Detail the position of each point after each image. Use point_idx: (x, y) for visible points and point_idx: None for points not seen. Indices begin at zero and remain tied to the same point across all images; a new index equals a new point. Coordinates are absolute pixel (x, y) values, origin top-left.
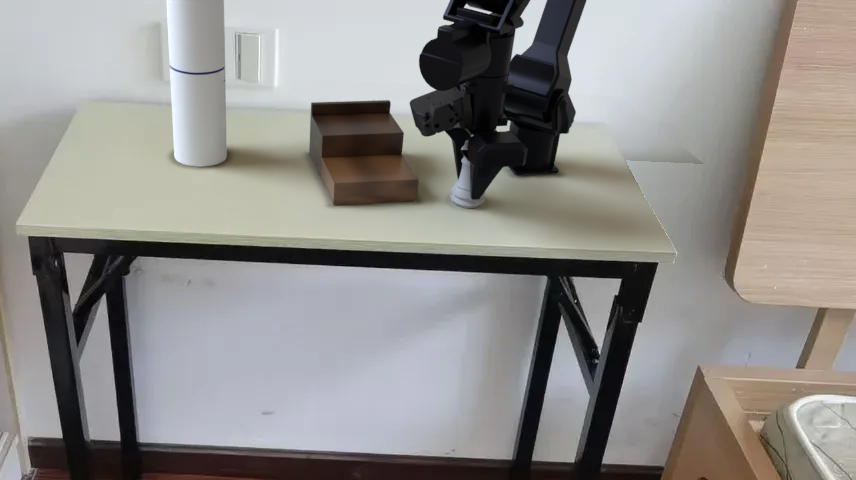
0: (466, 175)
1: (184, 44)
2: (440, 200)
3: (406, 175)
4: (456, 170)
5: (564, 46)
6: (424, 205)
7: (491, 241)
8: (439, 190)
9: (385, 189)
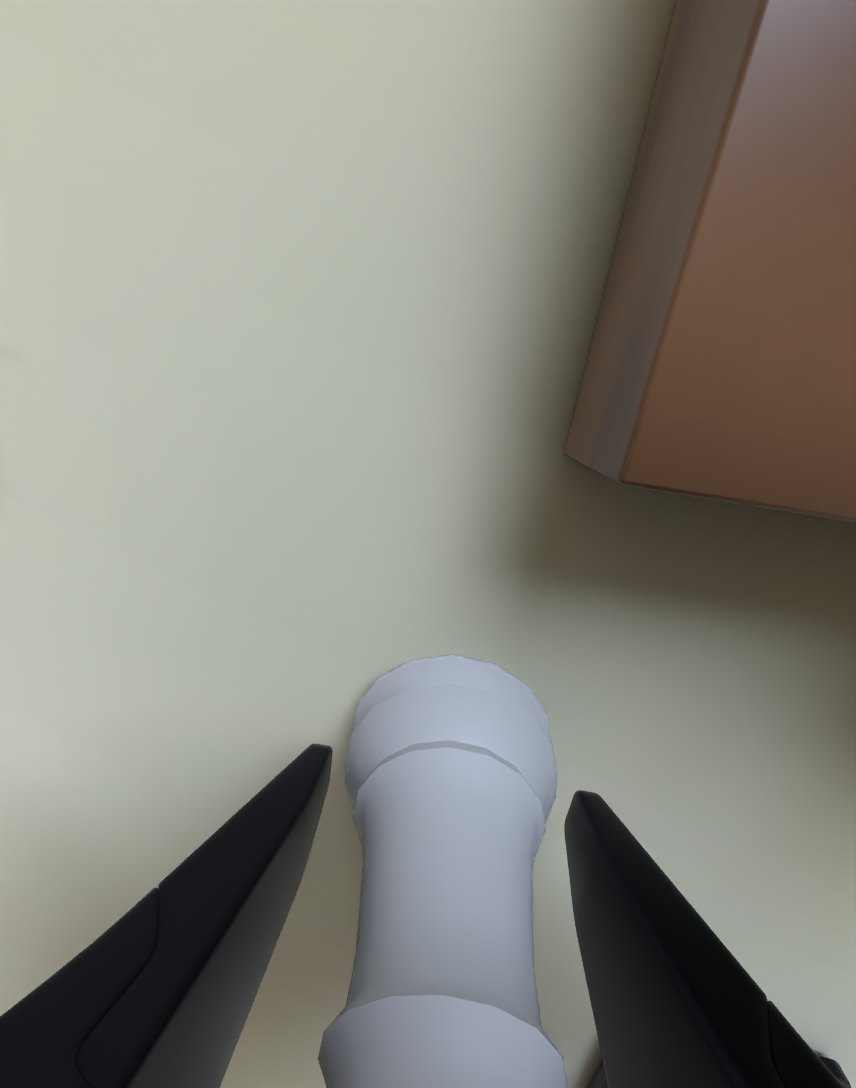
0: (395, 874)
1: None
2: (516, 605)
3: (766, 391)
4: (641, 852)
5: None
6: (484, 479)
7: (7, 630)
8: (643, 659)
9: (692, 99)
